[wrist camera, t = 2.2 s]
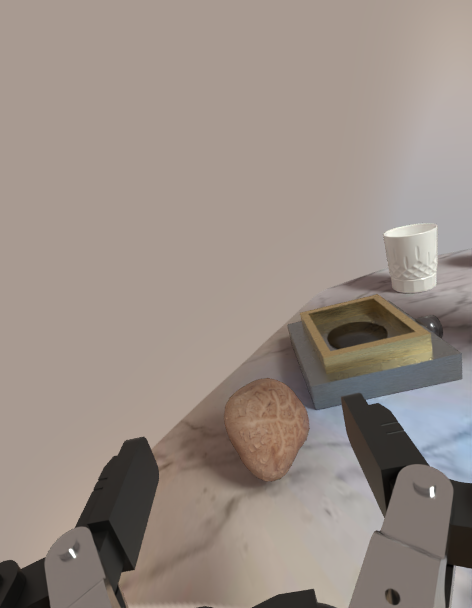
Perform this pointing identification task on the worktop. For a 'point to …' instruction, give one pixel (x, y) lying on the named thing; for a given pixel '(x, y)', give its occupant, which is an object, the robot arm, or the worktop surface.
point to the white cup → (412, 257)
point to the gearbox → (370, 351)
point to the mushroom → (266, 427)
